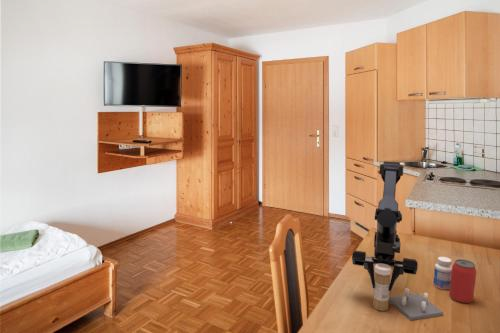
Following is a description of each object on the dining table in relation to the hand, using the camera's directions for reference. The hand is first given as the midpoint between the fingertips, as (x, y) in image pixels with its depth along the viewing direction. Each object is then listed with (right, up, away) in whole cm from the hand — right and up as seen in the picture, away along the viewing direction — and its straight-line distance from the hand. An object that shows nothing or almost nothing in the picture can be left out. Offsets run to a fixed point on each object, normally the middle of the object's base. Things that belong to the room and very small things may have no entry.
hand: (381, 289), depth 107 cm
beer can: (+28, -6, +8) cm, 30 cm away
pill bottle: (+26, -4, +15) cm, 31 cm away
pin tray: (+11, -6, +2) cm, 13 cm away
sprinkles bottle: (+1, -6, +3) cm, 7 cm away
